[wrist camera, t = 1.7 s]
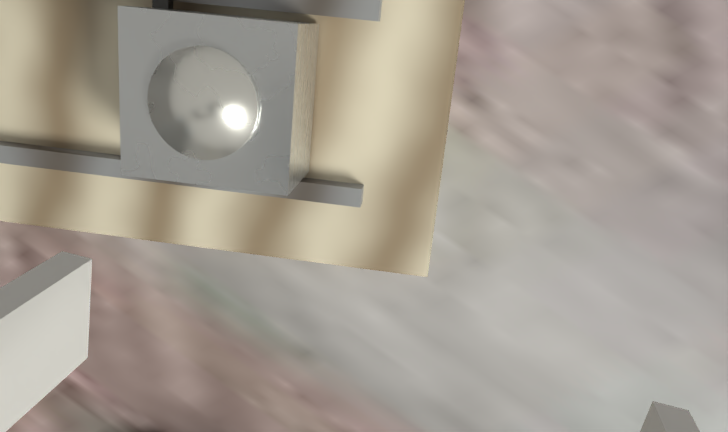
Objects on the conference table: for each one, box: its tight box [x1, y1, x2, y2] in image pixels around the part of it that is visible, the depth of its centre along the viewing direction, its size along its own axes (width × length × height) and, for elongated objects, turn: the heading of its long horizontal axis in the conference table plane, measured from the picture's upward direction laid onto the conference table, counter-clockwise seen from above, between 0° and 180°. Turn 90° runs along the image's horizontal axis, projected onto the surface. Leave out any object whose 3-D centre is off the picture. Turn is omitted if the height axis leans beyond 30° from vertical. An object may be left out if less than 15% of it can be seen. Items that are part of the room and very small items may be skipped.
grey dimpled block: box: [118, 0, 319, 196], centre depth 30 cm, size 8×13×5 cm, turn 175°
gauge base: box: [0, 0, 465, 277], centre depth 31 cm, size 30×18×9 cm, turn 85°
